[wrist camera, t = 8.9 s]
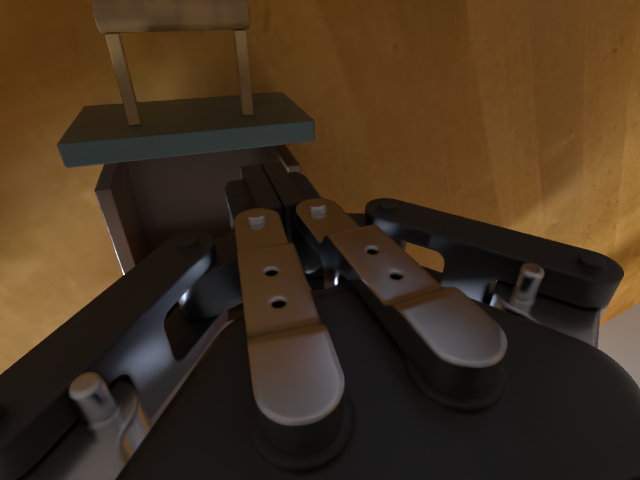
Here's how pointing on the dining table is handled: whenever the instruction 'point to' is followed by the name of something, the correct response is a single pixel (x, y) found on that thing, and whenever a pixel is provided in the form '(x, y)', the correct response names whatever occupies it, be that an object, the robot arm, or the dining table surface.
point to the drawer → (176, 135)
